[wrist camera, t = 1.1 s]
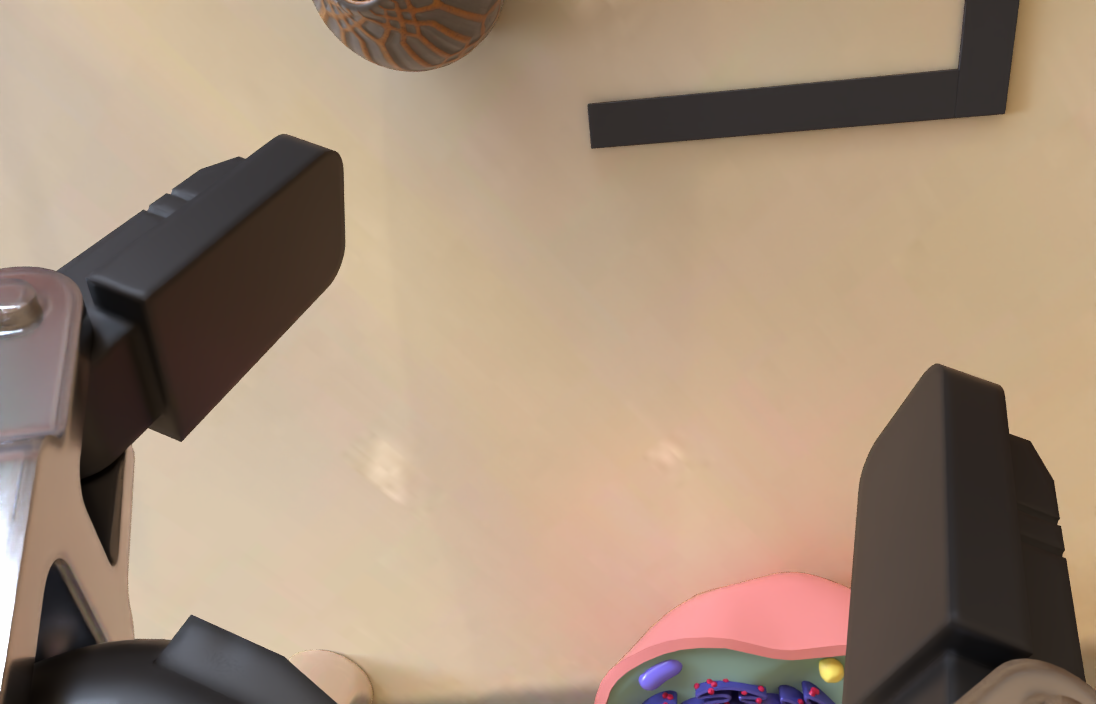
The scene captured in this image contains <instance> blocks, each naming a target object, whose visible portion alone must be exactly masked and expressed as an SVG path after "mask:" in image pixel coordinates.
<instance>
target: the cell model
mask: <svg viewBox="0 0 1096 704" xmlns="http://www.w3.org/2000/svg"><path fill="white" fill-rule="evenodd" d="M850 593H851V589H850V588H848V587H845V586H843V585H841V584H838V583H836V582H833V581H831V580H828V579H825V578H822V577H819V576H816V575H811V574H806V573H799V572H780V573H775V574H770V575H766V576H762V577H759V578H755V579H751V580H748V581H744V582H740V583H737V584H733V585H729V586H725V587H721V588H717V589H712V590H708V591H704V592H702V593H699V594H696V595H694V596H693V597H692V598H690V599H688V600H686V601H685V602H683V603H681V604H680V605H678V606H677V607H675V608H674V609H672V610H671V611H669V612H668V613H666V614H665V615H664V616H663V617H662V618H661V619H659V620H658V621H657V622H656V623H655V624H654V625H653V626H652V627H651V628H650V629H649V630H648V631H647V632H646V633H645V634H644V635H643V636H642V637H641V638H640V639H639V640H638V641H637V643H636V644H635V645H634V646H633V647H632V648H631V649H630V650H629V651H628V652H627V653H626V654H625V655H624V656H623V657H622V658H621V659H620V660H619V661H618V662H617V663H616V664H615V665H614V666H613V667H612V668H611V669H610V670H609V672H608V673H607V674H606V676H605V677H604V679H603V680H602V682H601V684H600V687H599V689H598V691H597V695H596V698H595V702H594V704H842V696H843V683H844V670H845V657H846V644H847V632H848V619H849V606H850Z"/></svg>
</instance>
